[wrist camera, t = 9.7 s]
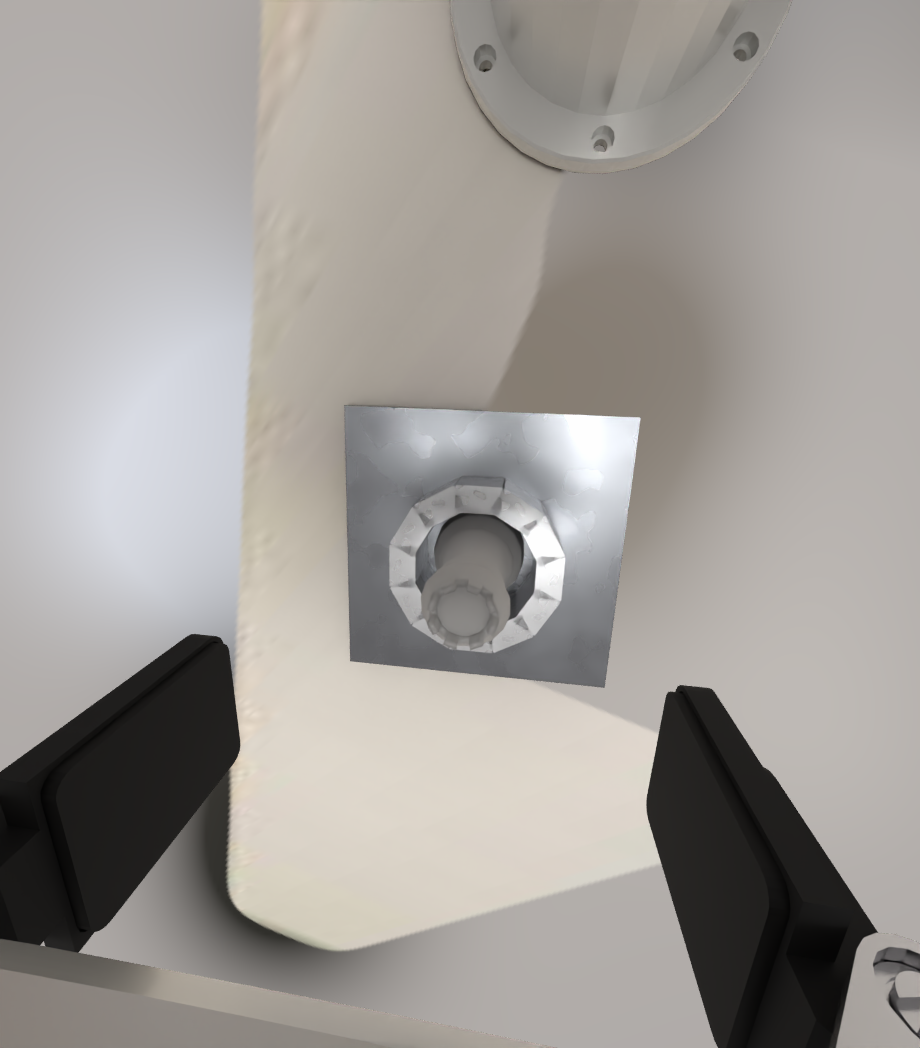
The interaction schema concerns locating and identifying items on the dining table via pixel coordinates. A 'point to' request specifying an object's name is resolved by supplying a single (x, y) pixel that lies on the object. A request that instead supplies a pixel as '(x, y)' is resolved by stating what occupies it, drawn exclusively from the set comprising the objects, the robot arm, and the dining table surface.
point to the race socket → (513, 496)
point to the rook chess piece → (472, 579)
